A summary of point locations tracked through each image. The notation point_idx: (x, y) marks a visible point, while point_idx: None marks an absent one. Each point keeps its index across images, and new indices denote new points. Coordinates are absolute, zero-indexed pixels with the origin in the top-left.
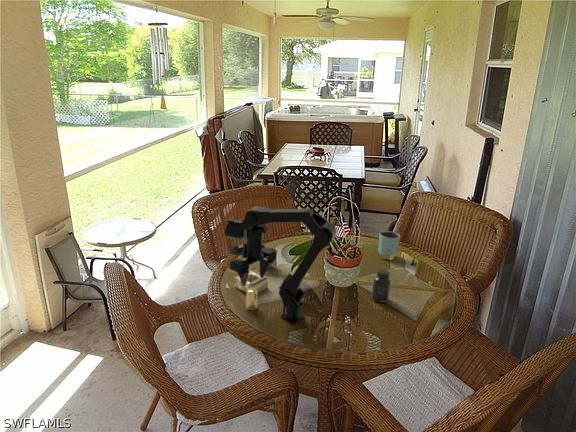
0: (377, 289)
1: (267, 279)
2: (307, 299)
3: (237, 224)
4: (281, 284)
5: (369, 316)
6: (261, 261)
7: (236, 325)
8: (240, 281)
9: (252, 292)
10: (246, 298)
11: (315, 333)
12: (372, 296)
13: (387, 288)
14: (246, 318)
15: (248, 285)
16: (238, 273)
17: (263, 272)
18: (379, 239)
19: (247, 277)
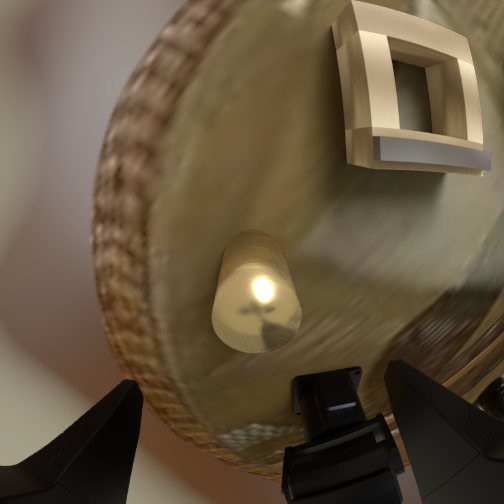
0: (492, 415)
1: (478, 175)
2: (449, 335)
3: None
4: (330, 496)
5: None
6: (484, 489)
7: (115, 320)
8: (358, 49)
9: (242, 337)
10: (221, 271)
11: (300, 443)
12: (489, 392)
13: None
14: (173, 312)
15: (367, 127)
16: (31, 468)
17: (405, 431)
18: None
19: (123, 498)
